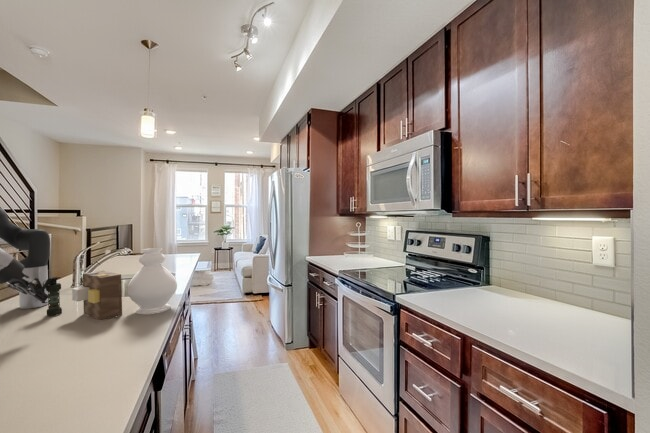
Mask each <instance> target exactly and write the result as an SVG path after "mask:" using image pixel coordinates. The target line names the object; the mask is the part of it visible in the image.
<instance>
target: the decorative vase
mask: <svg viewBox="0 0 650 433" xmlns="http://www.w3.org/2000/svg"><path fill="white" fill-rule="evenodd" d="M161 251H163V248H162V247H148V248H142V249H141V252H142V253H143V254H142V255H141V256H139V258H138V262H139V264H141V265H143V266H142V267H141V268H140V269H139V270H138V271H137V272H136V273H135V274H134V276H132V278H131V280H130V281H129V283H128V285H127V295H128V297H129V298H130V299H131V301H132V302H134V304H136V305H137V306H138V308H137V309H135V314H138V315H153V314H159V313H163V312H166V311H168V310H170V309H171V304H169V303H168V302H169V301H170V299H171V298H172V297H173V296H174V295H175V293H176V291H177V288H178V283H177V280H176V278H175V276H174V275H173V274H172V272H171V271H170V270H169V269H167V268H166V267H164V266H163V265H162V264H163V263H164V261H165V260H166V256H165V254H164V253H162V252H161Z"/></svg>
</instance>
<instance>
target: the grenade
mask: <svg viewBox="0 0 650 433" xmlns="http://www.w3.org/2000/svg"><path fill="white" fill-rule="evenodd" d="M58 279H59V280H60V279H62V278H61V277H58V276H55V277H54V276H53V277H50V278H49V277H48V279H47V280H46V281H45V284H44V283H43V288H42V289H41V290H42V291H43V292H44V293H45V289H46V291H48V296H49V297H48V302H45V301H42V303H48V304H47V305H48V309H46V316H48V317H54V316H55V317H56V316H59V315H61V314H63V309H62V307H61V304H60V303H61V302H60V301H61V300H60V299H61V298H60V290H62V284H61V283H60V282H59V283H58Z"/></svg>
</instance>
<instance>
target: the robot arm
mask: <svg viewBox="0 0 650 433" xmlns="http://www.w3.org/2000/svg"><path fill="white" fill-rule="evenodd" d="M0 239H1V240H3V241H4V242H6V243H7V244H9V245H10V246H11V247H13V248H15V249H16V250H19V251H22V252H23V251H24V252H25V251H26V252H28V253H27V256H26V257H25V258H23V259H20V260H17V258H15V257H14V256H13V255H11V254H10V253H8V251H6V250H4V249H2V248H1V247H0V285H2V284H3V285H4V284H7V283H8V284H7V287H8V288H9V289H10V288H11V289H13V290H15V291H17V292H18V296H19V301H18V302H19V309H21V310H27V309H28V310H29V309H35V308H41V307H44V306H47V305H48V303H42V301H45V302H48V297H49V296H48V291H46V289H45V293H44V292H43V291H42V290H41V289H42V288H43V283H44V284H45V281H46V280H47V279H48V278H49V269H48V268H49V267H48V263H49V262H48V261H49V260H50V254H51V253H50V252H51V251H50V250H51V238H50V235H49V233H48V232H47V230H44V229H41V228H38V229H37V228H36V229H35V228H33V229H31V228H30V229H29V228H28V229H27V228H23V227H20V226H19V225H16V224H14V223H13V222H12V221H10V219H9V217H8V214H7V213H6V211H5V210H4V209H2V208H1V207H0Z"/></svg>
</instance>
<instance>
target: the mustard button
mask: <svg viewBox="0 0 650 433" xmlns="http://www.w3.org/2000/svg"><path fill="white" fill-rule="evenodd" d="M88 302H91V303H98V302H100V290H99V289H90V290H88Z"/></svg>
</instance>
